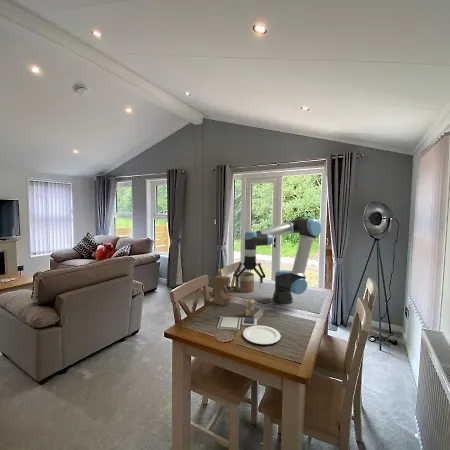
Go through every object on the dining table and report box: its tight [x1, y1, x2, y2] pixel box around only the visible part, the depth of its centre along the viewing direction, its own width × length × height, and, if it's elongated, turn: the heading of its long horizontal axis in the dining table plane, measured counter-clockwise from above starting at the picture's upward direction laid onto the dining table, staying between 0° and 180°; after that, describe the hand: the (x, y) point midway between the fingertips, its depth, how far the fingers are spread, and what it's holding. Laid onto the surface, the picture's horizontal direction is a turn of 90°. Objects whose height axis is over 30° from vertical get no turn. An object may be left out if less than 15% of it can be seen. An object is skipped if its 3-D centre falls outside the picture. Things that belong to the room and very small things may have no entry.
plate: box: [242, 325, 282, 346], centre depth 146 cm, size 21×21×2 cm
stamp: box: [245, 298, 255, 318], centre depth 172 cm, size 5×5×10 cm
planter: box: [234, 271, 255, 293], centre depth 224 cm, size 16×16×14 cm
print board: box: [216, 315, 242, 331], centre depth 161 cm, size 13×16×1 cm
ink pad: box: [241, 316, 258, 327], centre depth 162 cm, size 9×9×2 cm
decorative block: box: [213, 274, 231, 307], centre depth 192 cm, size 11×6×20 cm, turn 62°
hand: (249, 287), depth 171 cm, fingers open, 13 cm apart
